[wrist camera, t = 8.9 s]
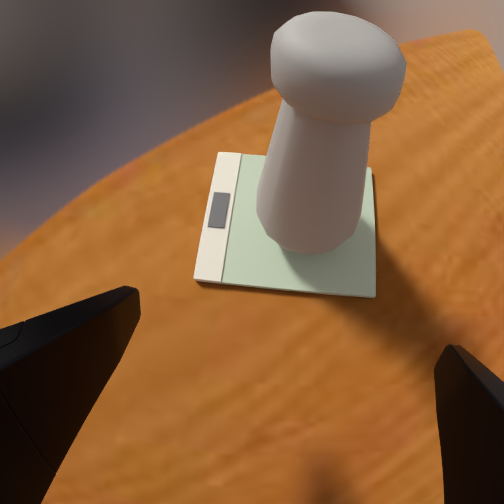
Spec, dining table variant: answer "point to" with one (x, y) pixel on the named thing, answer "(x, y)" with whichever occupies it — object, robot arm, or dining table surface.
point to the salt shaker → (324, 126)
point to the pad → (270, 252)
